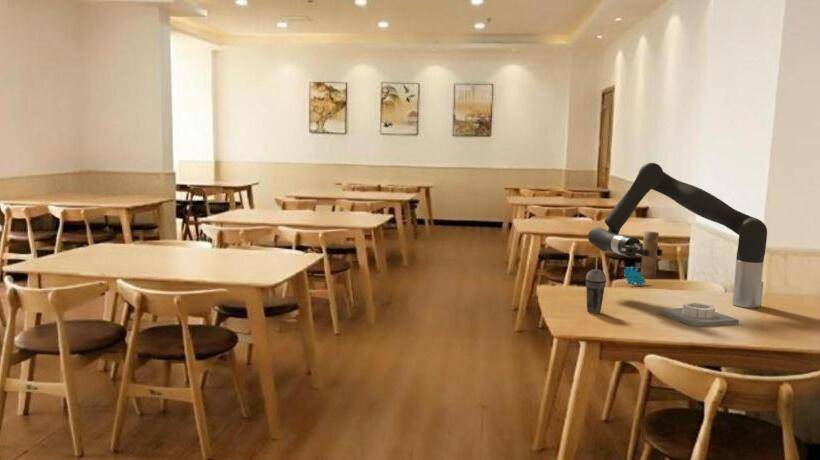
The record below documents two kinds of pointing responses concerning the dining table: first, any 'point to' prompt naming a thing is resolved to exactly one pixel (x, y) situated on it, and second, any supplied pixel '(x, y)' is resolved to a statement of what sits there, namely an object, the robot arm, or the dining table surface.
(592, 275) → the beverage cup
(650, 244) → the cylinder
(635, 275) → the blue spiky lump
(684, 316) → the socket plate
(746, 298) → the robot arm
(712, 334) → the dining table surface
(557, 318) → the dining table surface
